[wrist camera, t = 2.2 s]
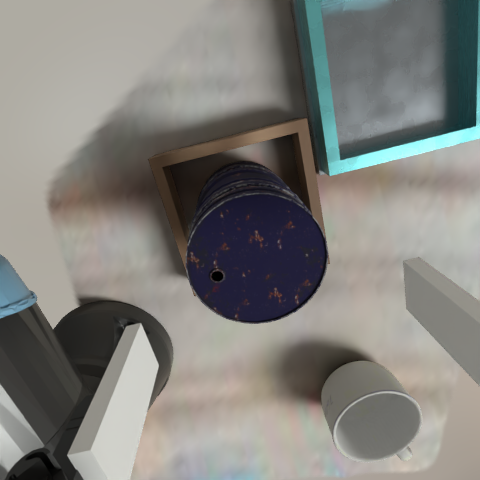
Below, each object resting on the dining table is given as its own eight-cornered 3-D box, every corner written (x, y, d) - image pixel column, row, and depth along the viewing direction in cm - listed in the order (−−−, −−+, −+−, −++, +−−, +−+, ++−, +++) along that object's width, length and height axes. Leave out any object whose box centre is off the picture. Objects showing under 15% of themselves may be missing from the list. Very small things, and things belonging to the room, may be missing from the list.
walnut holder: (196, 281, 39) (194, 296, 36) (155, 154, 34) (148, 159, 30) (320, 251, 38) (329, 263, 35) (298, 117, 33) (307, 118, 30)
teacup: (302, 369, 45) (318, 420, 37) (376, 335, 43) (408, 380, 36) (341, 432, 49) (362, 489, 42) (409, 403, 48) (444, 456, 40)
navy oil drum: (274, 147, 34) (311, 169, 20) (298, 231, 37) (344, 300, 24) (184, 178, 35) (159, 220, 21) (216, 258, 38) (212, 341, 24)
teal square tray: (317, 173, 35) (327, 179, 32) (290, -1, 30) (298, -15, 26) (466, 136, 35) (491, 138, 31) (467, -49, 29) (499, -70, 26)
